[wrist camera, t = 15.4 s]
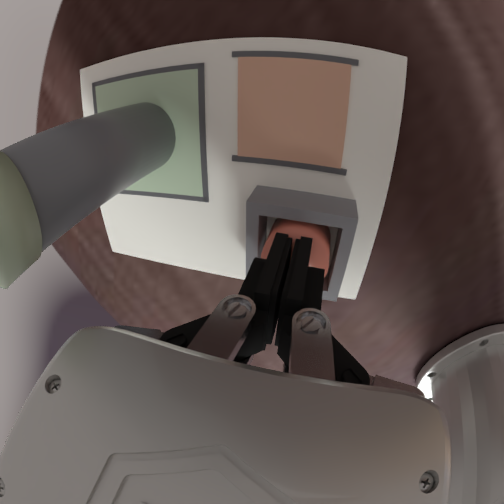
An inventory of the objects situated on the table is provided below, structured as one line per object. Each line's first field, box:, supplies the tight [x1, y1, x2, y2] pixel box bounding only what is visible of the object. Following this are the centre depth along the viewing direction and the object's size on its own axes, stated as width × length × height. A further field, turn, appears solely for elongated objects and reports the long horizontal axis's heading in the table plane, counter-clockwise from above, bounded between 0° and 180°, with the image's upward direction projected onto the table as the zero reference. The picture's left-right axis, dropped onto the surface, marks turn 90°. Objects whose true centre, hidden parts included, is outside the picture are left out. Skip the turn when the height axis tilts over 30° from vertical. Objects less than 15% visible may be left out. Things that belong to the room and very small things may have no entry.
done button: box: [261, 218, 331, 278], centre depth 14 cm, size 3×3×2 cm
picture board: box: [80, 37, 407, 301], centre depth 14 cm, size 18×14×2 cm
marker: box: [0, 102, 176, 289], centre depth 9 cm, size 4×4×11 cm
